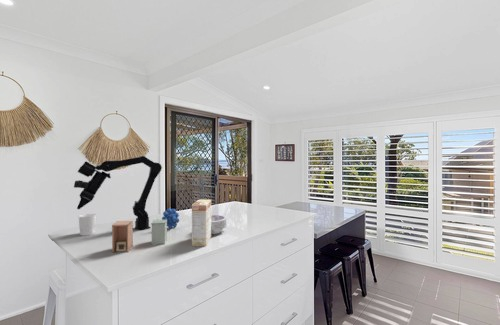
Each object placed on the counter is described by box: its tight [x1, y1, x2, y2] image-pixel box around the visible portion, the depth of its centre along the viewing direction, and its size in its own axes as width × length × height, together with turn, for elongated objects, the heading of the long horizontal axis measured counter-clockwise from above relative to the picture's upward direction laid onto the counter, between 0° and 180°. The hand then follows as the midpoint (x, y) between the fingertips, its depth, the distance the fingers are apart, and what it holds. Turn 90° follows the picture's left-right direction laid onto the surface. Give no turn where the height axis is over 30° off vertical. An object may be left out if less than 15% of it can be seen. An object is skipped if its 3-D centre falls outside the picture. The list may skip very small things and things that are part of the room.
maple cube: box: [116, 239, 127, 252], centre depth 118 cm, size 4×4×4 cm
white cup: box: [78, 213, 97, 237], centre depth 141 cm, size 8×8×10 cm
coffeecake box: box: [191, 198, 212, 247], centre depth 130 cm, size 15×7×20 cm, turn 178°
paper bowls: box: [211, 214, 227, 235], centre depth 146 cm, size 15×15×8 cm
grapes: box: [161, 207, 180, 229], centre depth 152 cm, size 12×7×12 cm, turn 145°
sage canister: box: [150, 219, 168, 245], centre depth 128 cm, size 6×6×10 cm
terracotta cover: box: [111, 220, 134, 253], centre depth 118 cm, size 7×7×12 cm
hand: (79, 207), depth 139 cm, fingers open, 9 cm apart
